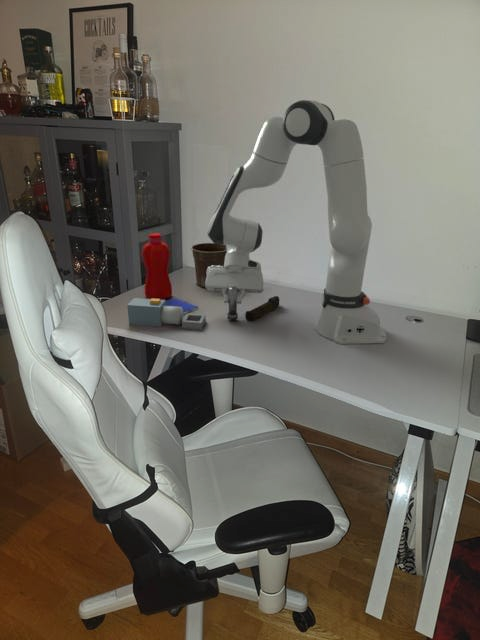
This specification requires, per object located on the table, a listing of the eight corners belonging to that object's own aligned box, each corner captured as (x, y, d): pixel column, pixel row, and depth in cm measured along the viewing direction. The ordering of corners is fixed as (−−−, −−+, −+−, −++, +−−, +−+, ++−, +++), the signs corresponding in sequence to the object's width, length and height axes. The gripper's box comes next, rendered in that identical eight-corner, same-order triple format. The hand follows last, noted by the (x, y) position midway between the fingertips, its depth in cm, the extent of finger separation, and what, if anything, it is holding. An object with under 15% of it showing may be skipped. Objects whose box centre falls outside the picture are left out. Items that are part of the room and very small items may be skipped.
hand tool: (253, 323, 140) (254, 311, 139) (244, 320, 143) (245, 308, 141) (284, 308, 154) (285, 296, 152) (276, 305, 156) (276, 294, 154)
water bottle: (153, 290, 167) (148, 229, 156) (175, 295, 162) (172, 232, 152) (138, 297, 159) (132, 233, 149) (161, 303, 155) (157, 237, 144)
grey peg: (238, 316, 143) (238, 286, 139) (237, 320, 140) (237, 290, 135) (228, 315, 144) (228, 285, 139) (226, 319, 140) (226, 289, 136)
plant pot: (199, 276, 185) (199, 240, 178) (234, 279, 181) (234, 244, 175) (186, 287, 171) (184, 250, 164) (223, 292, 167) (223, 253, 160)
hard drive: (158, 303, 152) (181, 312, 145) (175, 297, 158) (198, 306, 150) (159, 307, 152) (181, 316, 145) (175, 301, 158) (198, 309, 151)
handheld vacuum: (205, 321, 141) (205, 299, 137) (201, 329, 135) (201, 306, 131) (135, 316, 143) (133, 294, 140) (129, 324, 137) (126, 301, 134)
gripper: (205, 260, 142) (200, 297, 137) (264, 263, 140) (261, 300, 135) (208, 269, 148) (203, 304, 143) (265, 272, 145) (262, 307, 141)
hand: (232, 302), depth 139 cm, fingers closed on grey peg, 3 cm apart
